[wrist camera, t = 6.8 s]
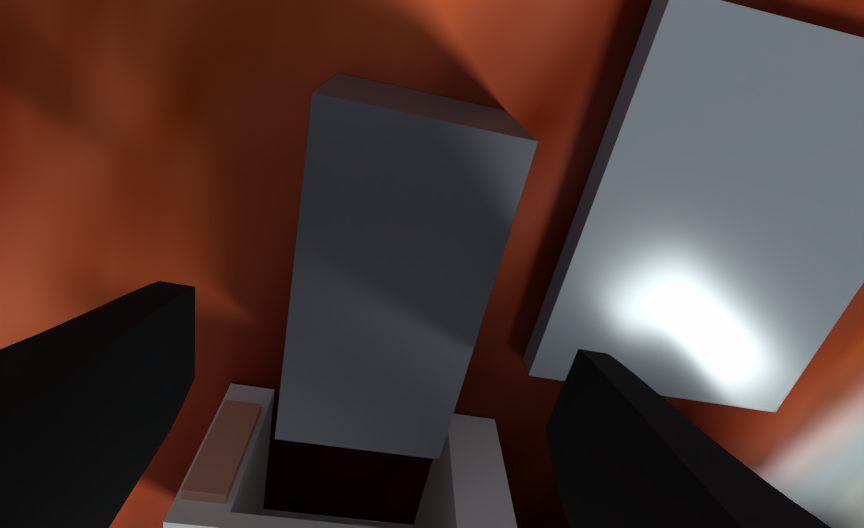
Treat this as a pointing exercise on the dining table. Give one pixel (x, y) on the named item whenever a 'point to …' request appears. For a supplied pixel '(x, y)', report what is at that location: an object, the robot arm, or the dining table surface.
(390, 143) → the plug
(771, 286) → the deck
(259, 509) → the socket bar
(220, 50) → the dining table surface
